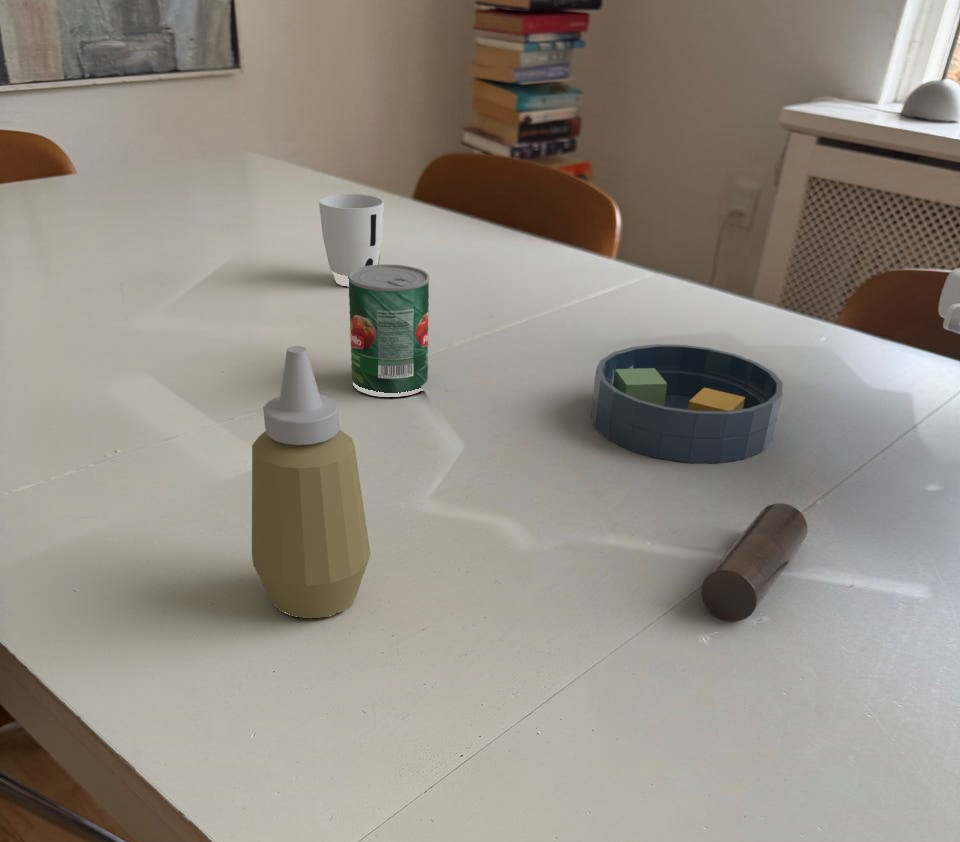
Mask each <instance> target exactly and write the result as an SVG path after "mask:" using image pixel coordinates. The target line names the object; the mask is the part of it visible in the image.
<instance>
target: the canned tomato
mask: <svg viewBox="0 0 960 842" xmlns="http://www.w3.org/2000/svg"><path fill="white" fill-rule="evenodd" d="M348 279H349V287H348V301H349V303H348V304H349V305H348V306H349V325H350V326H349V331H350V335H349V336H350V360H351V366H350V367H351V381H352V380H353V382H354V383H355V384H356V385H358V386H359V387H362V388H365V389H368V390H373V391H376V392H378V391H379V392H384V393H398V392H399V393H401V392H406V391H407V392H408V391H412V390H415V389H419V388H421V387H422V386H423V385H424V384H426V383H427V381H428V375H429V374H428V373H429V372H428V371H429V307H430V303H429V300H430V294H429V293H430V291H429V290H430V289H429V288H430V285H429V283H430V282H429V281H430V275H429V274H428V272H426V271H425V270H423V269H420V268H419V267H414V266H409V265H403V264H392V263H391V264H390V263H389V264H387V263H385V264H379V265H370V266H364V267H360V268H357V269H354V270H352V271H351V272H350V273H349V274H348Z"/></svg>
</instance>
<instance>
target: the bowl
mask: <svg viewBox="0 0 960 842" xmlns="http://www.w3.org/2000/svg"><path fill="white" fill-rule="evenodd" d="M642 368H655V369H656V371H657V372H658V373H659V374H660V376H661V377H662V378H663V379H664V380H665V382H666V383H667V389H666V395H665V402H664V406H661V405H657V404H653V403H649V402H646V401H642V400H639V399H637V398H634V397H632V396H630V395H628V394H625V393H623V392H621V391H619V390H618V389H616V388H615V387H614V386H613V381H614V373H615V369H642ZM594 374H595V375H594V383H593V390H592V391H593V392H592V399H591V410H590V418H591V422H592V424H593V426H594V429H595V430H596V431H598V432H599V433H600V434H601V435H602V436H603V437H604V438H605V439H607V440H608V441H609V442H612V443H613V444H616V445H618V446H620V447H622V448H624V449H626V450H628V451H631V452H633V453H637V454H640V455H645V456H647V457H651V458H654V459H660V460H666V461H673V462H681V463H687V464H721V463H727V462H734V461H740V460H745V459H748V458H750V457H752V456H754V455H757V454H760V453H762V452H763V451H764V450H765V449H766V448H767V447H768V446H769V445H770V444H771V443H772V442H773V439H774V436H775V432H776V431H775V430H776V426H777V421H778V417H779V411H780V408H781V404H782V400H783V395H784V383H783V382H782V380H781V379H780V378H779V376H777V374H776V373H775V372H774V371H772V370H771V369H769V368H767V367H766V366H765V365H762V364H761V363H760V362H757V361H754V360H752V359H749V358H746V357H744V356H741V355H739V354H736V353H732V352H727V351H723V350H719V349H716V348H710V347H704V346H696V345H687V344H661V343H659V344H647V345H638V346H637V345H636V346H630V347H627V348H623V349H620V350H617V351H616V350H615V351H612V352H611V353H609V354H608V355H606V356H604V357H603V358H602V359H599V362H598V364H597V366H596V369H595V373H594ZM703 388H708V389H713V390H717V391H721V392H725V393H729V394H734V395H738V396H742V397H745V401H744V406H743V409H739V410H731V411H692V410H688V404H689V401H690V400H691V399H692V398H693V397H694V396H695V395H696V394H697V393H699V392H700V391H701V390H702V389H703Z"/></svg>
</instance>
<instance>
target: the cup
mask: <svg viewBox="0 0 960 842" xmlns="http://www.w3.org/2000/svg"><path fill="white" fill-rule="evenodd" d="M318 205H319V216H320V225H321V232H322V233H321V234H322V239H323V245H324V248H325V253H326V258H327V263H328V265H329V268H330V271H331V270H332V271H333V272H335V273H337V274H340V275H345V276H348V274H349V273H350V272H351V271H352V270H354V269H357V268H360V267H364V266H370V265H380V259H381V251H382V244H383V237H384V209H385V200H384V199H383V198H381V197H378V196H375V195H370V194H362V193H337V194H336V193H335V194H329V195H326V196H323V197H320V198H319V199H318Z"/></svg>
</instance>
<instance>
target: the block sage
mask: <svg viewBox="0 0 960 842" xmlns="http://www.w3.org/2000/svg"><path fill="white" fill-rule="evenodd" d="M613 386H614V387H615V388H616V389H618V390H619V391H621V392H623V393H625V394H628V395H630V396H632V397H634V398H637V399H639V400H642V401H646V402H649V403H653V404H657V405H661V406H664V402H665V395H666V389H667V383H666V382H665V380H664V379H663V378H662V377H661V376H660V374H659V373H658V372H657V371H656V369H655V368H642V369H615V373H614V381H613Z"/></svg>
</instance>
